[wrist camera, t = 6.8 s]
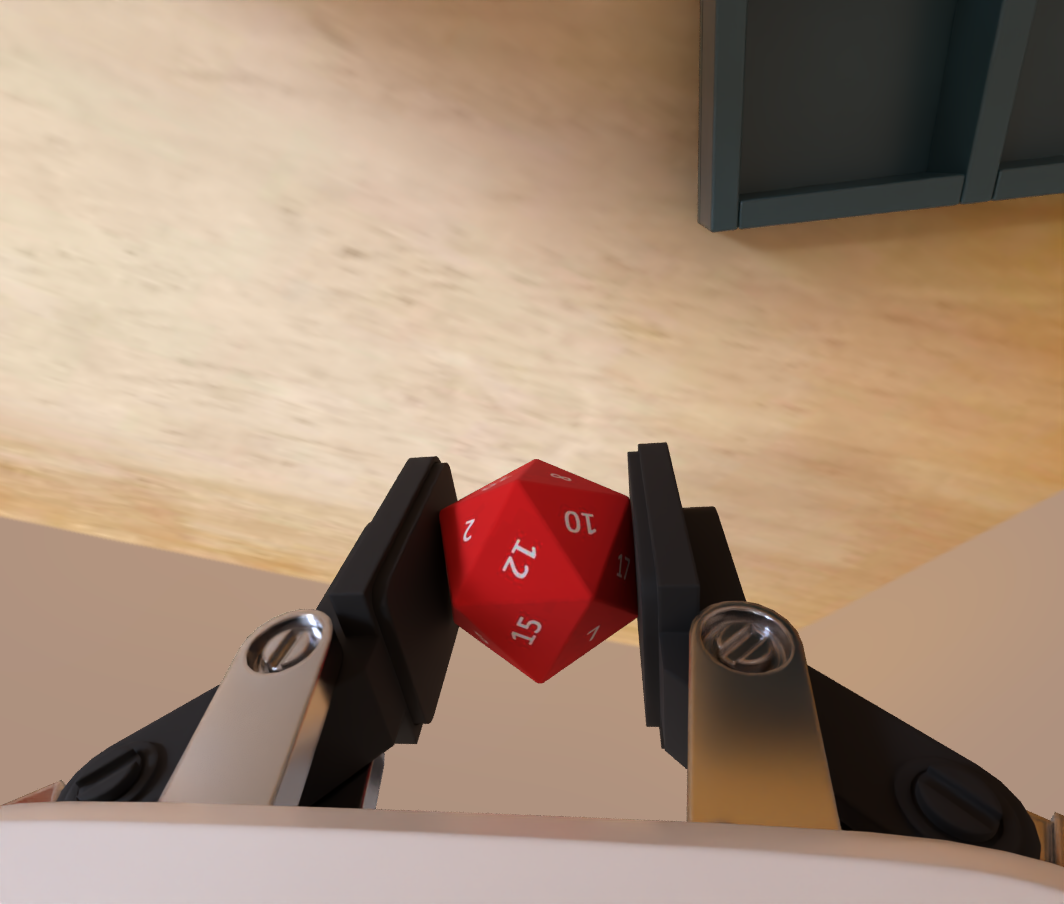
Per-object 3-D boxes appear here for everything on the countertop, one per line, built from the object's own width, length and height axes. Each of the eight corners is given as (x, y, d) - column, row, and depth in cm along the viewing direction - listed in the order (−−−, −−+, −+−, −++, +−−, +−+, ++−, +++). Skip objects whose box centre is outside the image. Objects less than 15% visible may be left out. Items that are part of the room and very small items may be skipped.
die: (494, 652, 12) (581, 762, 8) (380, 548, 11) (422, 621, 7) (603, 529, 13) (726, 580, 9) (507, 420, 12) (602, 427, 8)
